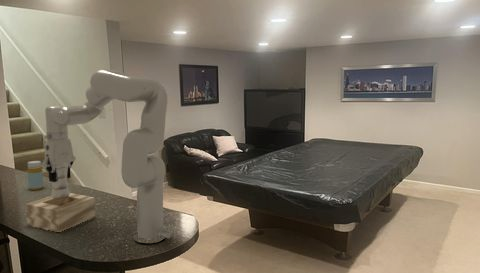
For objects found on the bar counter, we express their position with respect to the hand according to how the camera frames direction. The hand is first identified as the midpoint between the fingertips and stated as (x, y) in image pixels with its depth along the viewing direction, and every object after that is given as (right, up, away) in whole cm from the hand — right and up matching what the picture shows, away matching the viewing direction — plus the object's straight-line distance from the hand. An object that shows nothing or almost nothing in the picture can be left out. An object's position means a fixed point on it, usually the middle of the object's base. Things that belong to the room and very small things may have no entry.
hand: (60, 179), depth 140 cm
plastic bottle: (0, -9, +1) cm, 9 cm away
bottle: (-37, -11, +46) cm, 60 cm away
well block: (0, -18, +3) cm, 18 cm away
